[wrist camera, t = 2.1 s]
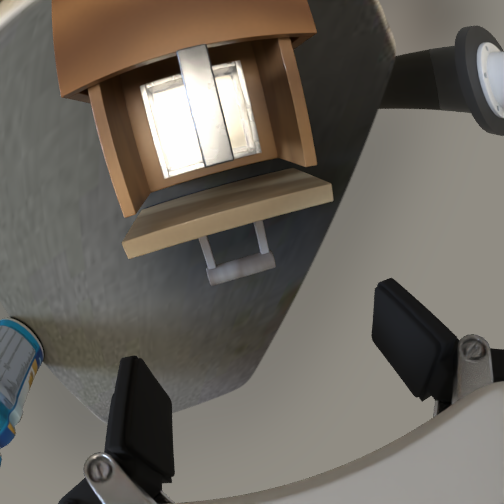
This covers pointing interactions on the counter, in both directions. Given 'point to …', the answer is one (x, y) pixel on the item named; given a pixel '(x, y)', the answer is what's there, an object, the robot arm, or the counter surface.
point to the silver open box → (200, 114)
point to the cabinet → (159, 33)
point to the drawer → (222, 197)
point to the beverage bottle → (16, 373)
